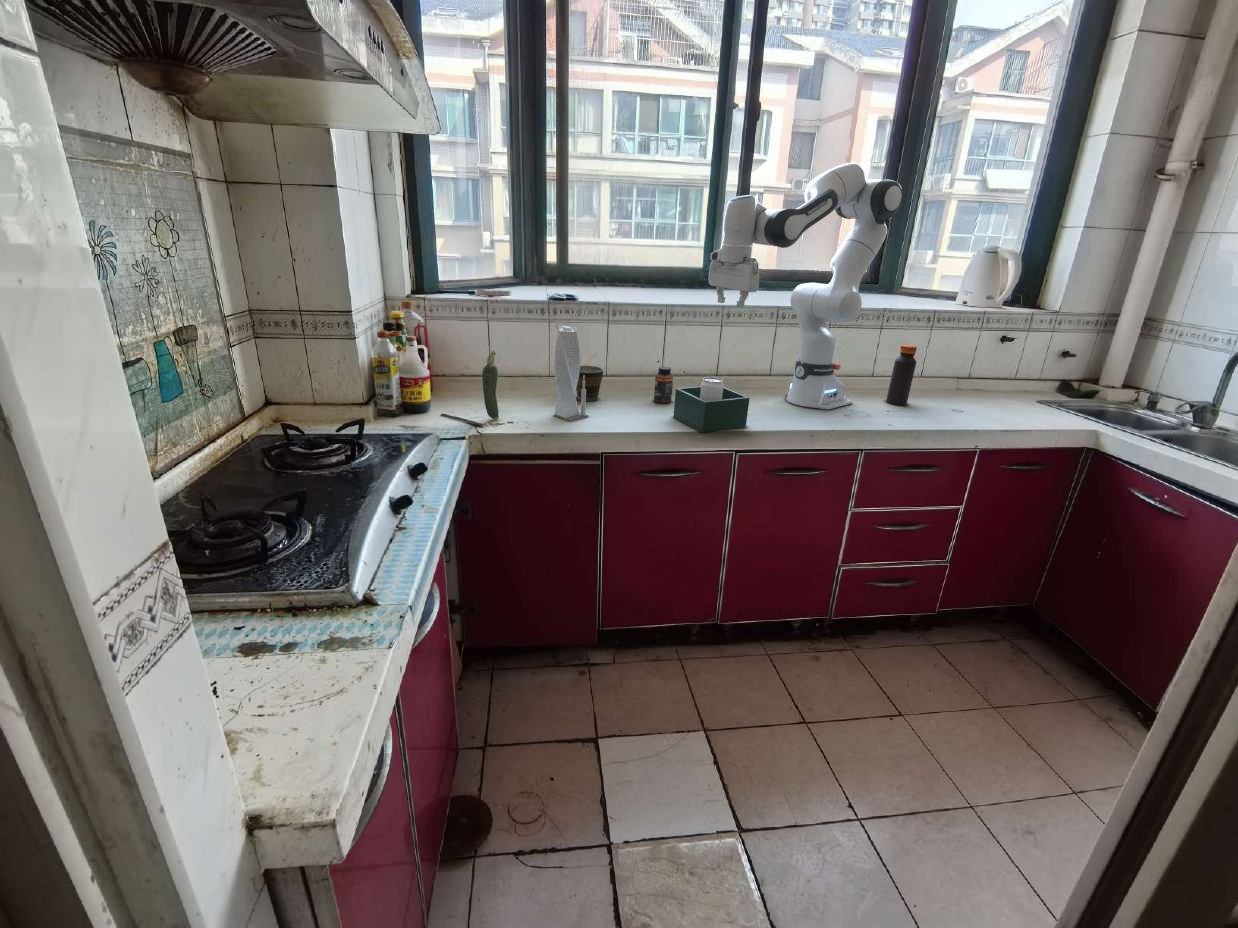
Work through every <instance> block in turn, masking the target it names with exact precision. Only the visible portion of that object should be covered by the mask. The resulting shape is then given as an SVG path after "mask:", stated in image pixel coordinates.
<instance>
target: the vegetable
mask: <svg viewBox="0 0 1238 928" xmlns="http://www.w3.org/2000/svg"><path fill="white" fill-rule="evenodd" d="M496 353H497V352H496V351H494V350H492V351H491V352H490V353H489V354H488V356H487V359H486V365H485V366H484V367H483V370H482V375H481V376H482V393H483V399H484V406H485V411H486V414H487V415H488V417H489V418H491V420H493V421H494V420H495V421H498V419H499V417H500V416H499V413H500V412H499V406H498V405H499V404H498V399H497V386H498V385H497V384H498V379H499V370H498V367H497V366H496V365H495V364H494V363H495V356H496V355H497V354H496Z"/></svg>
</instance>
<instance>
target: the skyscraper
mask: <svg viewBox="0 0 1238 928" xmlns="http://www.w3.org/2000/svg"><path fill="white" fill-rule="evenodd" d="M555 327H556V331H557V337H556V340H555V341H556V342H555V349H554V360H553V361H554V363H553V364H554V378H555V385H556V389H557V393H558V395H557V400H556V405H555V410H554V414H553V415H554V417H557V418H560V419H563V420H565V421H568V422H574V421H577V420H581V419H584V418H588V414H587V401H586V389H585V381H584V378H585V375H583V388H582V389H581V400H580V406H579V407H580V411H579V407H578V402H577V397H576V391H577V390H576V387H577V383H578V378H579V372H580V366H581V348H580V340H579V336H578V327H577V326H574V325H572V324H571V323H568V322H564V321H563V322H562V321H560V322H556V323H555Z"/></svg>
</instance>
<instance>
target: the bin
mask: <svg viewBox="0 0 1238 928" xmlns="http://www.w3.org/2000/svg"><path fill="white" fill-rule="evenodd" d="M700 392H701V385H700V386H699V385H698V386H688V387H687V386H686V387H677V388H675V393H674V404H673V405H674V407H673V418H674V419H676V420H678V421H680V422H681V423H682V424H685V425H687V426H689V427H690V428H692V429H694V430H696V431H698V432H700V433H702V434H704V433H711V432H718V431H726V430H734V429H741V428H746V427H747V423H748V422H747V421H748V413H749V407H750V398H751V397H749V396H747V395H744V394H742V393H739V392H737V391H735V390H733V389H730V388H727V387H725V386H723V393H722V400H716V401H704V400H702V399H700Z"/></svg>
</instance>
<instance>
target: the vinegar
mask: <svg viewBox="0 0 1238 928" xmlns="http://www.w3.org/2000/svg"><path fill="white" fill-rule="evenodd" d="M917 350H918V347H917V346H916V345H912V344H901V345H900V349H899V354H900V355H899V356H897V357H896V358H895V360H894V363H893V367H892V372H891V376H890V380H889V381H890V382H889V386H888V391H887V395H886V399H885V401H886V403H887V404H891V405H895V406H906V405H907V404H908V400H909V396H910V392H911V389H912V388H911V387H912V383H913V379H914V375H915V371H916V367H917V360H916V359H915V355H916V354H917Z"/></svg>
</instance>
